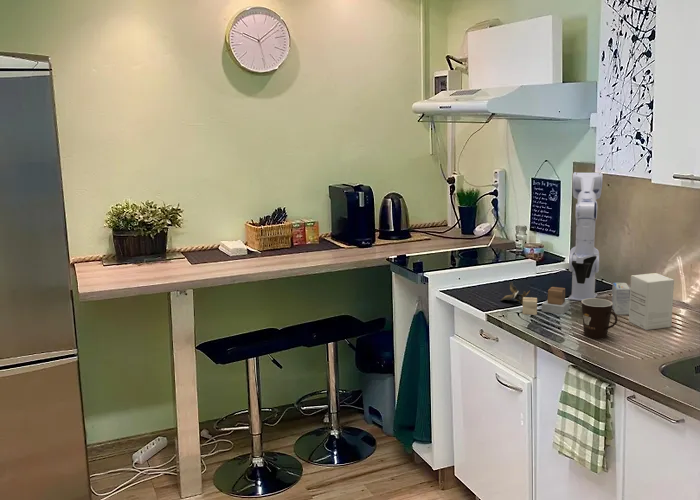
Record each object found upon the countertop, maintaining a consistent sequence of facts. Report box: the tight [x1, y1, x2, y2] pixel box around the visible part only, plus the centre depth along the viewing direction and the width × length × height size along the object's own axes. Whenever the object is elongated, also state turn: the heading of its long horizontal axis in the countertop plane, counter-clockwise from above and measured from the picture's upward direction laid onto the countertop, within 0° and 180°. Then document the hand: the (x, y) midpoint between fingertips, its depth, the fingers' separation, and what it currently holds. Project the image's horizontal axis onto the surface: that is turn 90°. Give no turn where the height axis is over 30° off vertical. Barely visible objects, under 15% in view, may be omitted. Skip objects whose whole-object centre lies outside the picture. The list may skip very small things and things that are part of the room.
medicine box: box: [611, 282, 630, 316], centre depth 227 cm, size 8×4×9 cm, turn 168°
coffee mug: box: [580, 297, 618, 340], centre depth 204 cm, size 12×9×10 cm
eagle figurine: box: [499, 281, 531, 305], centre depth 241 cm, size 8×7×9 cm
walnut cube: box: [547, 286, 566, 305], centre depth 230 cm, size 4×4×4 cm
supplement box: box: [628, 272, 675, 331], centre depth 213 cm, size 9×9×15 cm
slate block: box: [541, 299, 571, 315], centre depth 231 cm, size 7×7×3 cm
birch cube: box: [522, 296, 538, 316], centre depth 229 cm, size 4×4×4 cm
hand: (583, 280), depth 226 cm, fingers open, 7 cm apart
